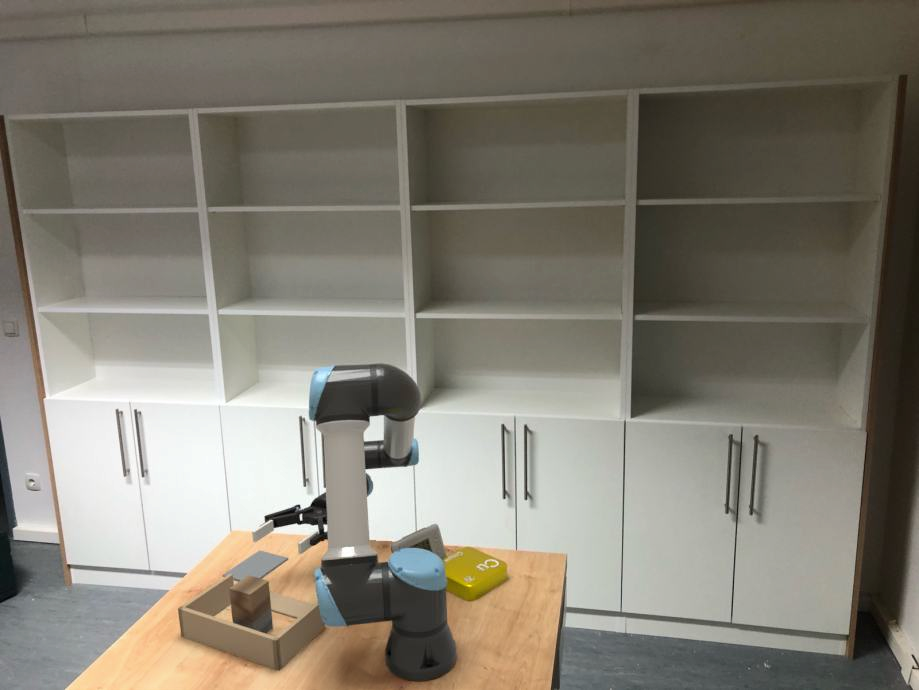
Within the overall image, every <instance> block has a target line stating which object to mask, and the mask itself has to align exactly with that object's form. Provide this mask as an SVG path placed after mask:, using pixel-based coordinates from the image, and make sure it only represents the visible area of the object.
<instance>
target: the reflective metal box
mask: <svg viewBox="0 0 919 690" xmlns="http://www.w3.org/2000/svg"><path fill="white" fill-rule="evenodd" d="M270 590H271V589H270V581H269V580H267V579H264V578H262V579H260V578H257V577H253V576H250V575H248V576H246V577H245V578H243V579H242V580H240V581H237V582H235V583H234V585H233V586H232V587H230V588H229V591H230V601H231V604H230V610H231V616H232V617H231V618H232V623H235V624H238V625H241V626H244V627H247V628H250V629H253V630H256V631H259V632H262V633H265V634H268V633H269V632H270V631H271V630H273V628H274V623H273V615H272V612H273V611H271V601H270Z"/></svg>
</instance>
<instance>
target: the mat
mask: <svg viewBox="0 0 919 690" xmlns="http://www.w3.org/2000/svg"><path fill="white" fill-rule="evenodd" d="M288 560H289V557H288V556H287V557H286V556H284V555H279V554H276V553H275V554H274V553H271V552H268V551H264V550H261V549H260V550H258V551H257V552H255V553H253V554H251V556H249V557H248V558H246V559H244V560H243V561H240V563H238V564H237V565H235V566H234V567H232V568H231V569H229V570H228V571H226V572H225V573H223V574H222V578H224V577H226V576H227V575H229V574H233V581H237V582H239V581H240V580H242V579H243V578H245V577H246V576H248V575H250V576H253V577H257V578H260V579H264V577H265V576H268V574H270V573H271V572H273V571H275V570H276V569H277V568H278V567H280V566H281V565H283V564H284V563H285V562H287V561H288Z"/></svg>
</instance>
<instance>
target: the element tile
mask: <svg viewBox="0 0 919 690" xmlns="http://www.w3.org/2000/svg"><path fill="white" fill-rule="evenodd" d="M442 561H443V563H444V565H445V572H446V578H447V585H446V592H448V593H450V594H453V595H455V596H457V597H458V598H460V599H463V600H464V601H467V602H474V601H476V600H478V599H480V598H481V597H483V596H484V595H486V594H487V593H489V592H491V591H493V590H494V589H496V587H498V586H500V585H503V583H505V582H506V581H507V580H508V564H507V562H506V561H504V560H502V559H499V558H497V557H494V556H492V555H491V554H488V553H485V552H483V551H481V550H479V549H477V548H474V547H472V546H464V547H462V548H460V549H458V550H456V551H454V552H453V553H450V554H449V555H447V557H445V558H443V559H442Z"/></svg>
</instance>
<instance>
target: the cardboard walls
mask: <svg viewBox="0 0 919 690" xmlns="http://www.w3.org/2000/svg"><path fill="white" fill-rule="evenodd" d="M233 585H235V580H233V574H229V575H227V576H226V577H222V578H221V579H220V580H219V581H217V582H215V583H213V584H211V586H209V587H208V588H206V589H205V590H203V591H202V592H200V593H199V594H197V595H196V596H194V597H192V598H191V599H190V600H188V601H187V602H185V603H184V604H182V605H181V606H180V607H178V608H177V611H178V612H177V613H178V621H179V629H180V636H181V637H182V638H185V639H188V640H191V641H193V642H197V643H199V644H202V645H205V646H208V647H210V648H213V649H217V650H219V651H223V652H225V653H227V654H231V655H233V656H237V657H240V658H242V659H245V660H248V661H251V662H253V663H256V664H258V665H259V664H260V665H262V666H264V667H268V668H270V669H274V670H275V671H276V670H277V671H280V670H281V669H282V668H284V666H285V665H287V663H289V662H290V661H291V660H293V658H294V657H295V656H296V655H298V654H299V653H300V652H301V651H302V650H303V649H304V648H305V647H307V645H309V643H311V642H312V641H313V640H314V639H315V638H316V637H317V636H319V634H320V633H321V632H323V631H324V630H325V629H326V625H325V624H324V622H323V620H322V618H321V614H320V610H319V605H318V600H317V601H316V602H315V603H311V602H308V601H305V600H301V599H297V598H294V597H292V596H288V595H284V594H281V593H278V592H274V591H270V601H271V612H275V613H277V614H281V615H284V616H288V617H290V618H294V619H295V620H293V622H292V623H290V624H289V625H287V627H285V628H284V629H283V630H282V631H281V632H279V633H278V634H277V635H276V636H275V635H271V634H268V633H267V634H265V633H262V632H259V631H256V630H253V629H250V628H247V627H244V626H241V625H238V624H235V623H233V621H232V622H231V621H228V620H226V619H225V620H224V619H222V618H219V617H216V615H217V614H219V613H220V612H221V611H223V610H224V609H226V608H227V607H228V606H231V601H230V591H229V588H230V587H232V586H233Z"/></svg>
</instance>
